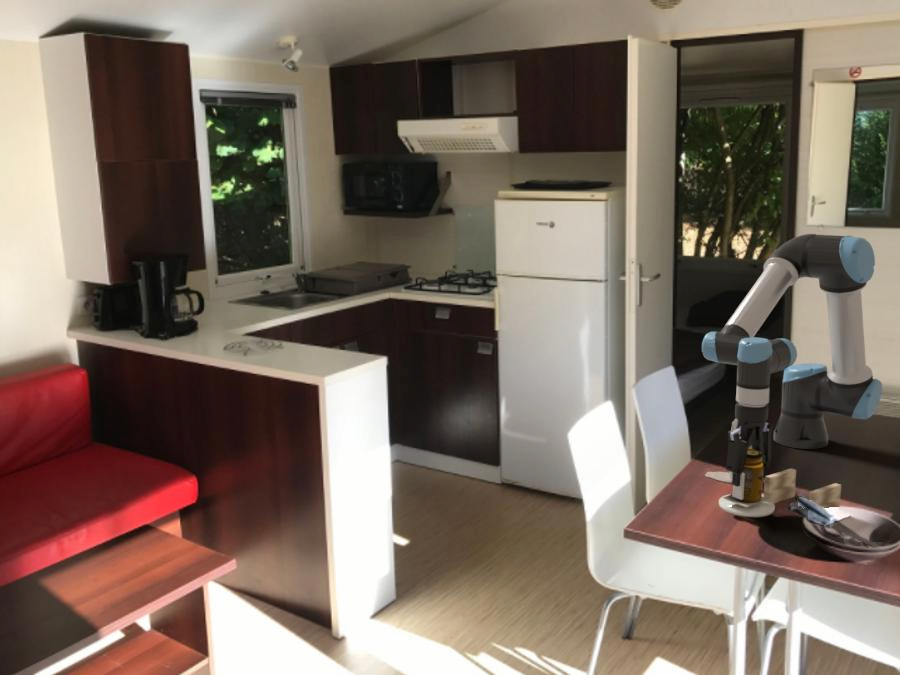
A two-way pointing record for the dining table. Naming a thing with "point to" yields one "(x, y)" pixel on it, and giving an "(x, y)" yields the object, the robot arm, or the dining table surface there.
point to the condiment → (751, 480)
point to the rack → (784, 488)
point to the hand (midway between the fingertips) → (747, 494)
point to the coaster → (747, 508)
